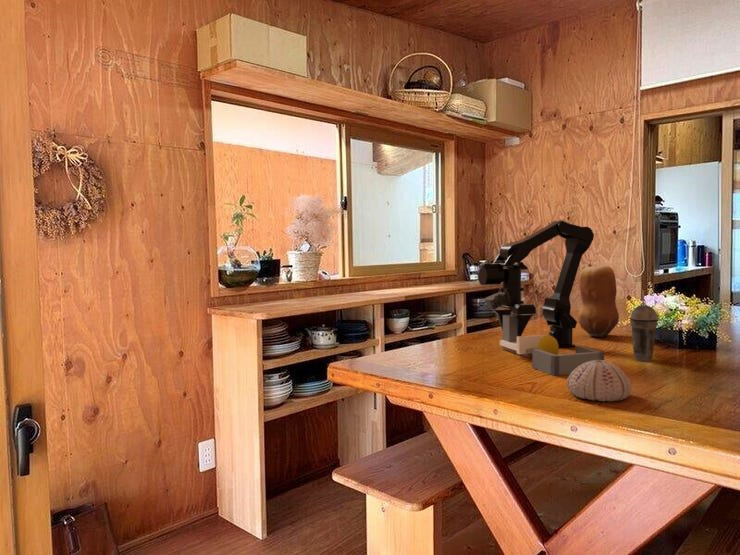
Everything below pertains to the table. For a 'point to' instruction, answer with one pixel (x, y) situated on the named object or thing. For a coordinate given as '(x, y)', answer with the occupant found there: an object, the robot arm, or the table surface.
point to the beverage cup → (643, 331)
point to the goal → (564, 360)
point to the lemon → (548, 344)
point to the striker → (517, 337)
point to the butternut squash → (598, 300)
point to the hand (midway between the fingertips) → (511, 333)
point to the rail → (516, 352)
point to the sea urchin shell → (599, 381)
